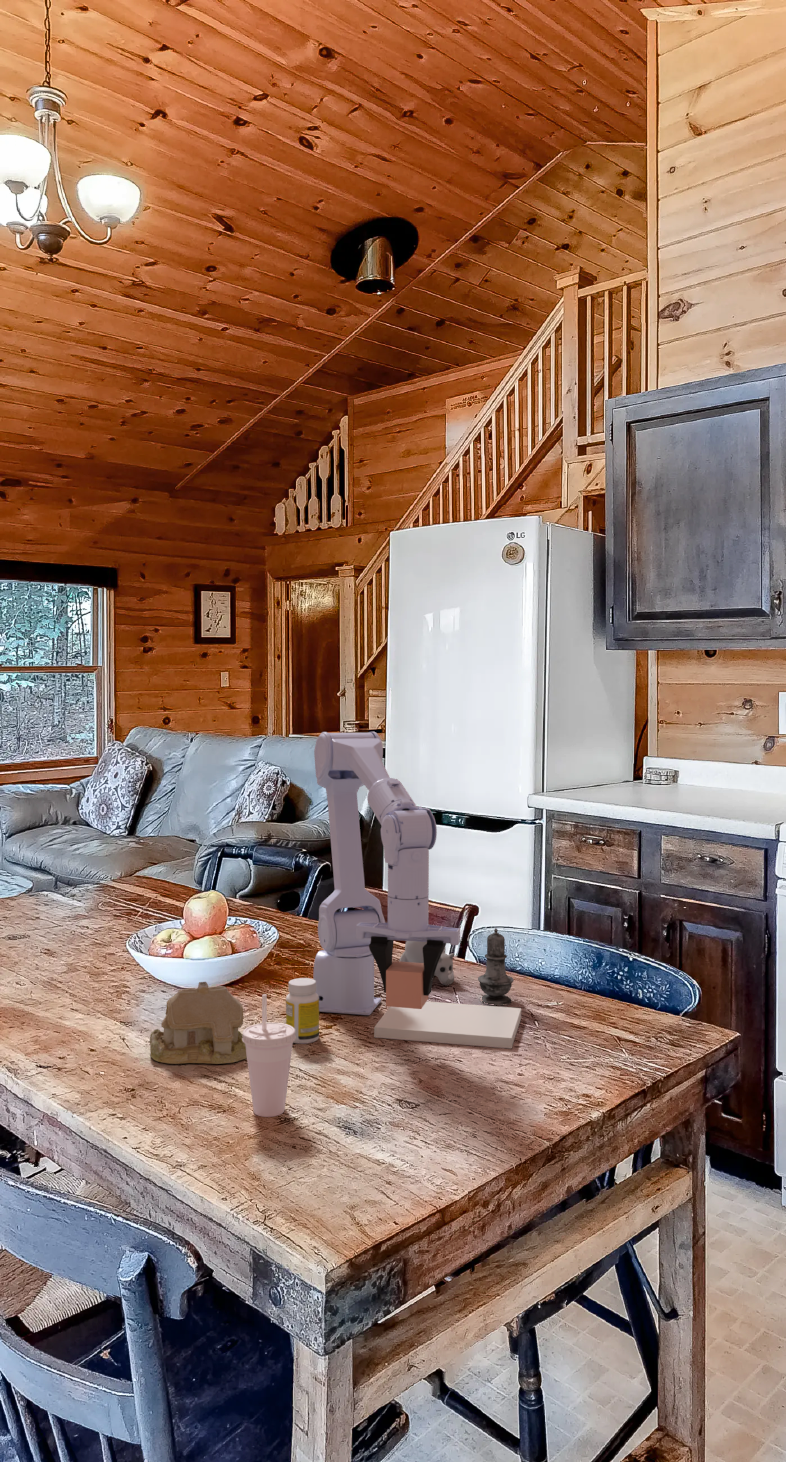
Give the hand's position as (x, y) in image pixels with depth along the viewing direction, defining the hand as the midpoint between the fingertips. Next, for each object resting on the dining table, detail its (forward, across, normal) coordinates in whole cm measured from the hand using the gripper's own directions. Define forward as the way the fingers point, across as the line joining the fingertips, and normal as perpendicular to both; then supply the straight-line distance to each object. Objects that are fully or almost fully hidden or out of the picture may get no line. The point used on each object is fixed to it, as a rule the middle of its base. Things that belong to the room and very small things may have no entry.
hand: (407, 992), depth 140 cm
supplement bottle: (+9, -16, +1) cm, 18 cm away
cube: (+1, 0, 0) cm, 1 cm away
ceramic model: (+9, -28, -8) cm, 30 cm away
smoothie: (+8, -12, -24) cm, 28 cm away
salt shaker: (+9, +9, +26) cm, 29 cm away
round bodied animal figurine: (+9, -4, +36) cm, 37 cm away
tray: (+8, +4, +11) cm, 15 cm away
